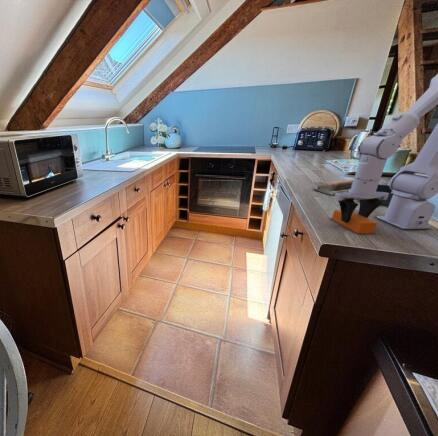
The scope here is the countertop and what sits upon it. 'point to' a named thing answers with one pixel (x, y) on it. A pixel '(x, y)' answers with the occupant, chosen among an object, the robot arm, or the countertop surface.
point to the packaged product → (334, 186)
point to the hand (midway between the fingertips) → (352, 221)
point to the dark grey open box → (387, 190)
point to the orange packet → (356, 222)
